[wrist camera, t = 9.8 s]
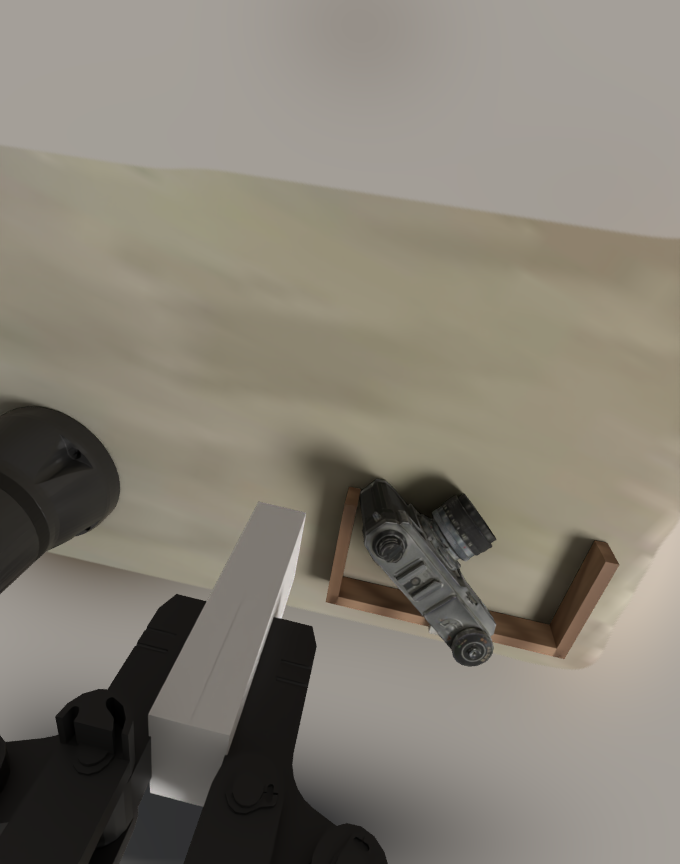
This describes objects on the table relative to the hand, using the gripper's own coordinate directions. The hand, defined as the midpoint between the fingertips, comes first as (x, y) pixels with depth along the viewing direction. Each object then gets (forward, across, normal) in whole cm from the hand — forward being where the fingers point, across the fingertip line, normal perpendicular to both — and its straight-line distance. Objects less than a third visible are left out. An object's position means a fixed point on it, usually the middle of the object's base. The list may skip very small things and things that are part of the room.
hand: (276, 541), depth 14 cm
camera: (+28, +12, -18) cm, 35 cm away
